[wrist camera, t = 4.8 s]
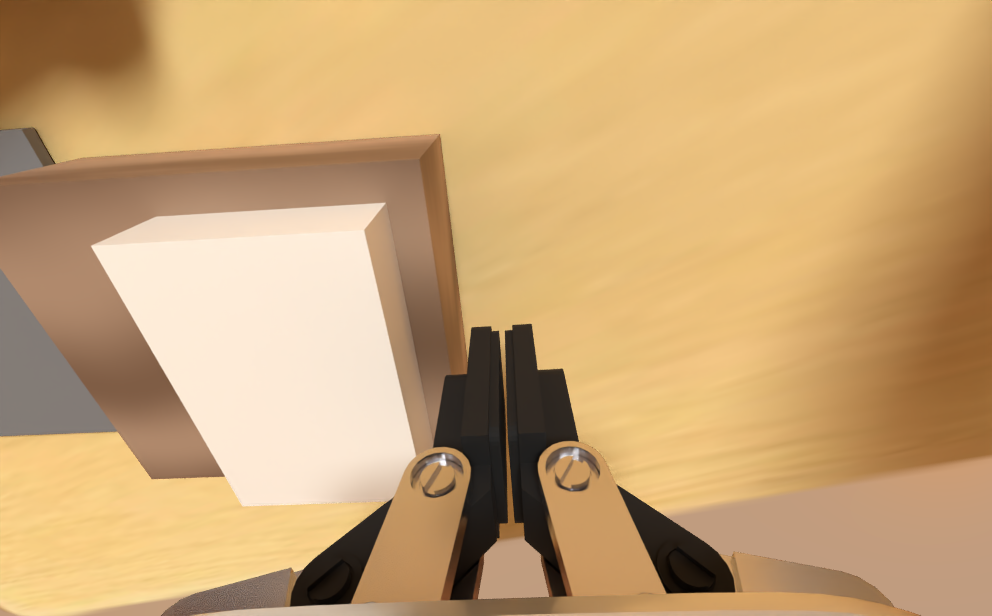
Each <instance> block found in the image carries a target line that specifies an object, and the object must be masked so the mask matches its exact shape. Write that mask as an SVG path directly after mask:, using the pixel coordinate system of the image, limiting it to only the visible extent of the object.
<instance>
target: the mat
mask: <svg viewBox="0 0 992 616" xmlns="http://www.w3.org/2000/svg"><path fill="white" fill-rule="evenodd" d="M53 164H54V162H53V161H52V159H51V157H50V155H49V154H48V152H47V150H46V148H45V147H44V145H43V143H42V141H41V140H40V138H39V136H38V134H37V133H36V131H35V129H34V128H22V129H8V130H0V177H1V176H5V175H10V174H14V173H18V172H23V171H27V170H31V169H36V168H40V167H44V166H49V165H53ZM115 431H117V430H116V429H115V427H114V426H113V424H112V423H111V422H110V420H109V419H108V417H107V416H106V415H105V413H104V412H103V410H102V409H101V408H100V406H99V405H98V404H97V402H96V401H95V399H94V398H93V397H92V395H91V394H90V392H89V391H88V390H87V388H86V387H85V385H84V384H83V383H82V381H81V380H80V378H79V377H78V376H77V374H76V373H75V372H74V370H73V369H72V367H71V366H70V365H69V363H68V362H67V360H66V359H65V358H64V356H63V355H62V353H61V352H60V351H59V349H58V348H57V346H56V345H55V344H54V342H53V341H52V340H51V338H50V337H49V335H48V334H47V333H46V331H45V330H44V328H43V327H42V326H41V324H40V323H39V321H38V320H37V319H36V317H35V316H34V314H33V313H32V312H31V310H30V309H29V308H28V306H27V305H26V303H25V302H24V301H23V299H22V298H21V296H20V295H19V294H18V292H17V291H16V289H15V288H14V287H13V285H12V284H11V282H10V281H9V280H8V278H7V277H6V276H5V274H4V273H3V271H2V270H1V269H0V436H17V435H42V434H66V433H91V432H115Z"/></svg>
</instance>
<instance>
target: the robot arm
mask: <svg viewBox="0 0 992 616" xmlns="http://www.w3.org/2000/svg"><path fill="white" fill-rule="evenodd" d="M512 329H513V330H508V331H505V352H506V389H507V426H508V444H509V456H510V469H511V481H512V494H513V506H514V519H515V523H524V535H525V541H526V542H528V543H529V544H530V545H531V546H532V547H533V548H534V549H536V550H537V551H538V552H539V553H540V554H541V562H542V567H543V571H544V576H545V580H546V584H547V588H548V592H549V597H541V598H540V597H538V598H508V599H478V594H479V588H480V582H481V577H482V571H483V565H484V554H485V553H486V552H487V550H489V549H490V547H491V546H492V545H493V544H494V543H495V542H496V541H497V538H499V524H500V523H508V510H507V464H506V418H505V399H504V387H503V375H502V362H501V350H500V337H499V331H492V329H491V326H488V327H472V328H471V338H470V348H469V358H468V368H467V374H458V375H446V376H445V379H444V385H443V390H442V396H441V402H440V408H439V414H438V420H437V426H436V432H435V438H434V444H433V448H432V449H429V450H426V451H424V452H422V453H420V454H419V455H417V456H416V457H415V458H414V459H413V460H412V461H411V462H410V463H409V464H408V466H407V468H406V469H405V471H404V473H403V476H402V478H401V481H400V483H399V486H398V488H397V491H396V493H395V495H394V497H393V498H392V499H391V500H389V501H388V502H387V503H385V504H384V505H383V506H381V507H380V508H379V509H378V510H376V511H375V512H374V513H372V514H371V515H370V516H369V517H367V518H366V519H365V520H363V521H362V522H361V523H360V524H358V525H357V526H356V527H354V528H353V529H352V530H350V531H349V532H348V533H347V534H345V535H344V536H343V537H341V538H340V539H339V540H338V541H336V542H335V543H334V544H332V545H331V546H330V547H329V548H327V549H326V550H325V551H323V552H322V553H321V554H320V555H318V556H317V557H316V558H314V559H313V560H312V561H311V562H310V563H309V564H308V565H307V566H306V567H305V568H304V570H301V571H297V572H294V571H293V570H292V568H288V569H284V570H281V571H277V572H273V573H270V574H266V575H262V576H259V577H255V578H251V579H247V580H244V581H240V582H236V583H233V584H229V585H225V586H221V587H218V588H214V589H210V590H207V591H203V592H199V593H196V594H193V595H190V596H188V597H186V598H184V599H181V600H179V601H178V602H177V603H175V604H174V605H173V606H171V607H170V608H169V609H167V610H166V611H165V612H164V613H163V614H162V615H161V616H921V615H918V614H915V613H912V612H909V611H905V610H902V609H898V608H895V607H894V606H893V605H892V603H891V602H890V601H889V600H888V599H887V598H886V597H885V596H884V595H883V594H882V593H881V592H880V591H879V590H877V588H875V587H874V586H872V585H871V584H869V583H867V582H866V581H864V580H862V579H861V578H859V577H857V576H854V575H851V574H848V573H845V572H842V571H836V570H831V569H826V568H820V567H815V566H810V565H803V564H798V563H793V562H787V561H782V560H777V559H771V558H766V557H761V556H755V555H749V554H745V553H739V552H733V555H732V556H726V555H721V554H719V553H718V552H717V551H715V550H714V549H713V548H712V547H710V546H709V545H708V544H707V543H705V542H704V541H702V540H700V539H699V538H698V537H696V536H695V535H693V534H692V533H690V532H689V531H687V530H685V529H684V528H682V527H681V526H679V525H678V524H676V523H674V522H673V521H672V520H670V519H669V518H667V517H666V516H664V515H663V514H661V513H659V512H658V511H656V510H655V509H653V508H652V507H650V506H649V505H647V504H646V503H644V502H643V501H641V500H640V499H638V498H637V497H635V496H633V495H632V494H630V493H629V492H627V491H626V490H624V489H623V488H621V487H620V486H618V485H617V484H616V483H615V481H614V479H613V476H612V474H611V472H610V470H609V468H608V466H607V463H606V461H605V460H604V458H603V457H602V456H601V454H600V453H599V452H597V451H596V450H595V449H594V448H593V447H590V446H588V445H586V444H584V443H580V442H579V440H578V436H577V431H576V426H575V422H574V417H573V412H572V408H571V403H570V398H569V394H568V389H567V384H566V380H565V375H564V371H563V369H551V370H538V369H537V362H536V354H535V346H534V339H533V331H532V324H523V325H512Z"/></svg>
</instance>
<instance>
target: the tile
mask: <svg viewBox="0 0 992 616" xmlns="http://www.w3.org/2000/svg"><path fill="white" fill-rule="evenodd" d="M91 247H92V249H93V251H94V252H95V254H96V256H97V258H98V259H99V261H100V263H101V264H102V266H103V268H104V270H105V271H106V273H107V275H108V276H109V278H110V280H111V282H112V283H113V285H114V287H115V288H116V290H117V292H118V294H119V295H120V297H121V299H122V300H123V302H124V304H125V306H126V307H127V309H128V311H129V312H130V314H131V316H132V318H133V319H134V321H135V323H136V324H137V326H138V328H139V330H140V331H141V333H142V335H143V336H144V338H145V340H146V342H147V343H148V345H149V347H150V348H151V350H152V352H153V354H154V355H155V357H156V359H157V360H158V362H159V364H160V366H161V367H162V369H163V371H164V372H165V374H166V376H167V378H168V379H169V381H170V383H171V384H172V386H173V388H174V390H175V391H176V393H177V395H178V396H179V398H180V400H181V402H182V403H183V405H184V407H185V408H186V410H187V412H188V414H189V415H190V417H191V419H192V420H193V422H194V424H195V426H196V427H197V429H198V431H199V432H200V434H201V436H202V438H203V439H204V441H205V443H206V444H207V446H208V448H209V450H210V451H211V453H212V455H213V456H214V458H215V460H216V462H217V463H218V465H219V467H220V468H221V470H222V472H223V474H224V475H225V477H226V479H227V480H228V482H229V484H230V486H231V487H232V489H233V491H234V492H235V494H236V496H237V498H238V499H239V501H240V503H241V504H242V506H263V505H294V504H324V503H354V502H384V501H389V500H391V499H392V498H393V497H394V495H395V493H396V491H397V488H398V486H399V483H400V481H401V478H402V476H403V473H404V471H405V469H406V468H407V466H408V464H409V463H410V462H411V461H412V460H413V459H414V458H415V457H416V456H417V455H419V454H420V453H422V452H424V451H426V450H429V449H432V448H433V439H432V434H431V429H430V424H429V419H428V414H427V409H426V404H425V398H424V393H423V388H422V383H421V378H420V373H419V368H418V363H417V358H416V353H415V347H414V342H413V337H412V332H411V327H410V322H409V317H408V312H407V307H406V302H405V297H404V291H403V286H402V281H401V276H400V271H399V266H398V261H397V256H396V251H395V246H394V241H393V235H392V230H391V225H390V220H389V215H388V210H387V205H386V203H373V204H357V205H340V206H324V207H307V208H291V209H274V210H258V211H241V212H225V213H208V214H192V215H175V216H159V217H154V218H152V219H150V220H147V221H145V222H143V223H141V224H138V225H136V226H134V227H132V228H130V229H127V230H125V231H123V232H121V233H118V234H116V235H114V236H112V237H110V238H107V239H105V240H103V241H101V242H98V243H96V244H94V245H92V246H91Z"/></svg>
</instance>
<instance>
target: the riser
mask: <svg viewBox="0 0 992 616" xmlns="http://www.w3.org/2000/svg"><path fill="white" fill-rule="evenodd" d="M373 203H386V205H387V210H388V215H389V220H390V225H391V230H392V235H393V241H394V246H395V251H396V256H397V261H398V266H399V271H400V276H401V281H402V286H403V291H404V297H405V302H406V307H407V312H408V317H409V322H410V327H411V332H412V337H413V342H414V347H415V353H416V358H417V363H418V368H419V373H420V378H421V383H422V388H423V393H424V398H425V404H426V409H427V414H428V419H429V424H430V429H431V434H432V439H433V444H434V438H435V432H436V426H437V420H438V414H439V408H440V402H441V396H442V390H443V385H444V379H445V376H446V375H458V374H467V368H468V362H467V354H466V346H465V338H464V329H463V321H462V313H461V305H460V296H459V288H458V280H457V272H456V263H455V255H454V247H453V239H452V230H451V222H450V214H449V206H448V198H447V189H446V181H445V173H444V165H443V156H442V148H441V140H440V134H435V135H420V136H405V137H390V138H375V139H360V140H345V141H330V142H315V143H300V144H285V145H270V146H255V147H240V148H225V149H210V150H195V151H180V152H165V153H150V154H135V155H120V156H105V157H90V158H79V159H75V160H71V161H66V162H62V163H58V164H53V165H49V166H44V167H40V168H36V169H31V170H27V171H23V172H18V173H14V174H10V175H5V176H1V177H0V269H1V270H2V271H3V273H4V274H5V276H6V277H7V278H8V280H9V281H10V282H11V284H12V285H13V287H14V288H15V289H16V291H17V292H18V294H19V295H20V296H21V298H22V299H23V301H24V302H25V303H26V305H27V306H28V308H29V309H30V310H31V312H32V313H33V314H34V316H35V317H36V319H37V320H38V321H39V323H40V324H41V326H42V327H43V328H44V330H45V331H46V333H47V334H48V335H49V337H50V338H51V340H52V341H53V342H54V344H55V345H56V346H57V348H58V349H59V351H60V352H61V353H62V355H63V356H64V358H65V359H66V360H67V362H68V363H69V365H70V366H71V367H72V369H73V370H74V372H75V373H76V374H77V376H78V377H79V378H80V380H81V381H82V383H83V384H84V385H85V387H86V388H87V390H88V391H89V392H90V394H91V395H92V397H93V398H94V399H95V401H96V402H97V404H98V405H99V406H100V408H101V409H102V410H103V412H104V413H105V415H106V416H107V417H108V419H109V420H110V422H111V423H112V424H113V426H114V427H115V429H116V430H117V431H118V433H119V434H120V436H121V437H122V438H123V440H124V441H125V442H126V444H127V445H128V447H129V448H130V449H131V451H132V452H133V454H134V455H135V456H136V458H137V459H138V461H139V462H140V463H141V465H142V466H143V468H144V469H145V470H146V472H147V473H148V474H149V476H150V477H151V479H170V478H197V477H225V475H224V474H223V472H222V470H221V468H220V467H219V465H218V463H217V462H216V460H215V458H214V456H213V455H212V453H211V451H210V450H209V448H208V446H207V444H206V443H205V441H204V439H203V438H202V436H201V434H200V432H199V431H198V429H197V427H196V426H195V424H194V422H193V420H192V419H191V417H190V415H189V414H188V412H187V410H186V408H185V407H184V405H183V403H182V402H181V400H180V398H179V396H178V395H177V393H176V391H175V390H174V388H173V386H172V384H171V383H170V381H169V379H168V378H167V376H166V374H165V372H164V371H163V369H162V367H161V366H160V364H159V362H158V360H157V359H156V357H155V355H154V354H153V352H152V350H151V348H150V347H149V345H148V343H147V342H146V340H145V338H144V336H143V335H142V333H141V331H140V330H139V328H138V326H137V324H136V323H135V321H134V319H133V318H132V316H131V314H130V312H129V311H128V309H127V307H126V306H125V304H124V302H123V300H122V299H121V297H120V295H119V294H118V292H117V290H116V288H115V287H114V285H113V283H112V282H111V280H110V278H109V276H108V275H107V273H106V271H105V270H104V268H103V266H102V264H101V263H100V261H99V259H98V258H97V256H96V254H95V252H94V251H93V249H92V247H91V246H92V245H94V244H96V243H98V242H101V241H103V240H105V239H107V238H110V237H112V236H114V235H116V234H118V233H121V232H123V231H125V230H127V229H130V228H132V227H134V226H136V225H138V224H141V223H143V222H145V221H147V220H150V219H152V218H154V217H159V216H175V215H192V214H208V213H225V212H241V211H258V210H274V209H291V208H307V207H324V206H340V205H357V204H373Z"/></svg>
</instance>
